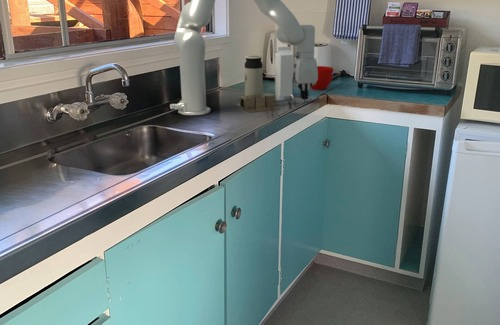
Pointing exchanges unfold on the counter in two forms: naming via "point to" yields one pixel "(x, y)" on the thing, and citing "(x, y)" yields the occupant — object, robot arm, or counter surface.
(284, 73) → the milk
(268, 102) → the hinge
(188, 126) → the counter surface
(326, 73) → the ceramic cup
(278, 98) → the pin
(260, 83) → the travel mug
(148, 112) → the counter surface
